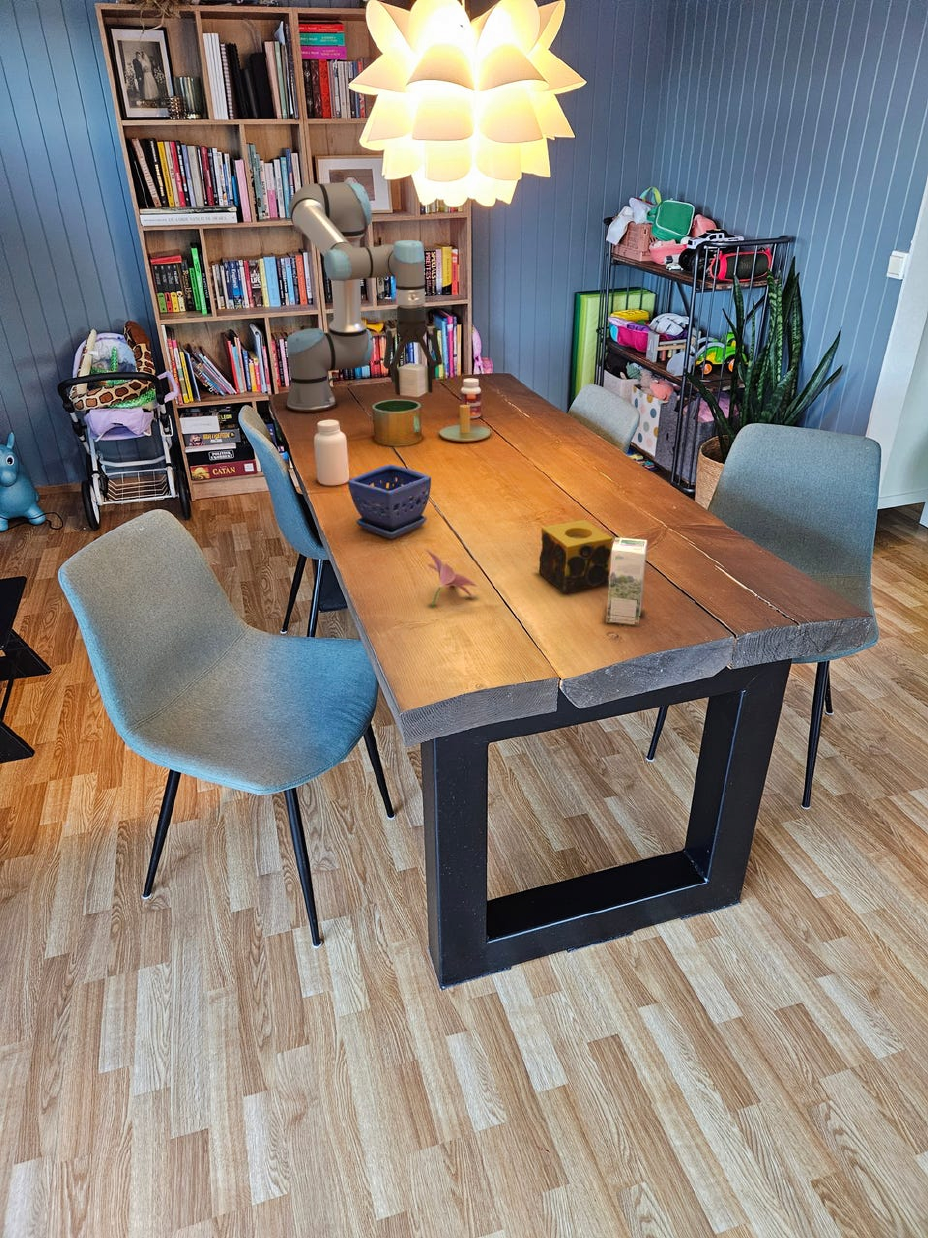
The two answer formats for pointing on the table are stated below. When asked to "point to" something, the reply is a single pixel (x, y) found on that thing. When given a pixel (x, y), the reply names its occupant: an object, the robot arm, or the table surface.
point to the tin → (397, 422)
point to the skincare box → (413, 379)
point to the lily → (449, 576)
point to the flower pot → (390, 500)
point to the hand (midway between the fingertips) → (413, 392)
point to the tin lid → (464, 428)
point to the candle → (575, 556)
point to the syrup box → (626, 580)
